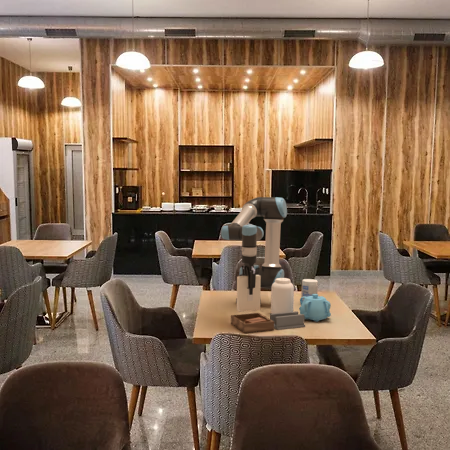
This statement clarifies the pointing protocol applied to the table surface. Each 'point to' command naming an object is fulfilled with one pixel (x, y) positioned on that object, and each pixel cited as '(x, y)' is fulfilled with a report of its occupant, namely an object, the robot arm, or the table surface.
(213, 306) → the table surface
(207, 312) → the table surface
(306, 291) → the supplement tub
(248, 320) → the cherry offcut
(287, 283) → the white jar
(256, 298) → the tall board
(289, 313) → the slot holder
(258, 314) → the brown wooden tray
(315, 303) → the decorative pot
